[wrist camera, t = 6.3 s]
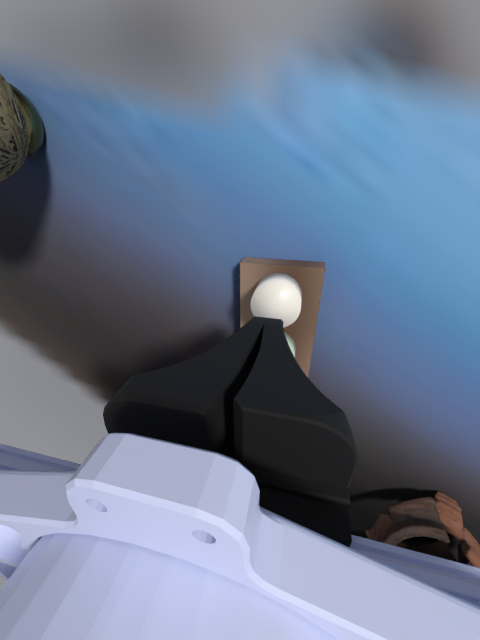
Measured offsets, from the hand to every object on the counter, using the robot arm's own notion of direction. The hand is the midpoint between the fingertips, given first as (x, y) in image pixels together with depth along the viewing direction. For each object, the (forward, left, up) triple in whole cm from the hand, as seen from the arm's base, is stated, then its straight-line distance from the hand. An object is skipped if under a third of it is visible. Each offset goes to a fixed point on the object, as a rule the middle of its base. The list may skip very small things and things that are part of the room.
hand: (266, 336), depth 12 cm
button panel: (0, -4, -6) cm, 7 cm away
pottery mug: (+16, -23, -7) cm, 28 cm away
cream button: (0, 0, -5) cm, 5 cm away
